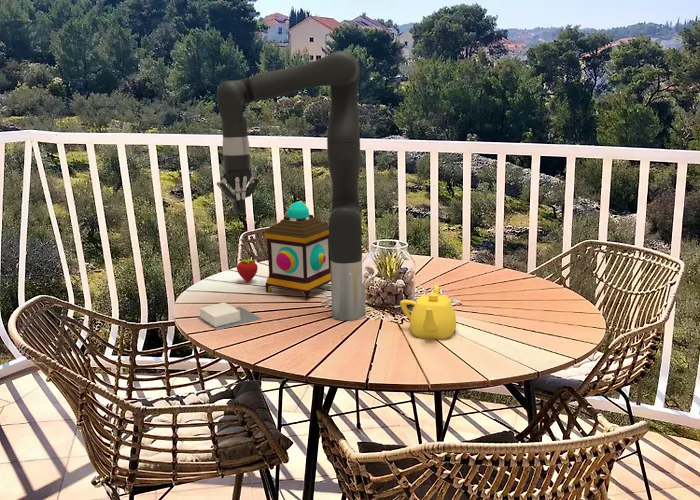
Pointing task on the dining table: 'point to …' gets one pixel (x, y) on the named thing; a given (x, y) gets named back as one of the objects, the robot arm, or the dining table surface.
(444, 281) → the dining table surface
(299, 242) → the decorative lantern
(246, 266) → the strawberry
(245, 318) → the mat
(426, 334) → the teapot
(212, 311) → the block
